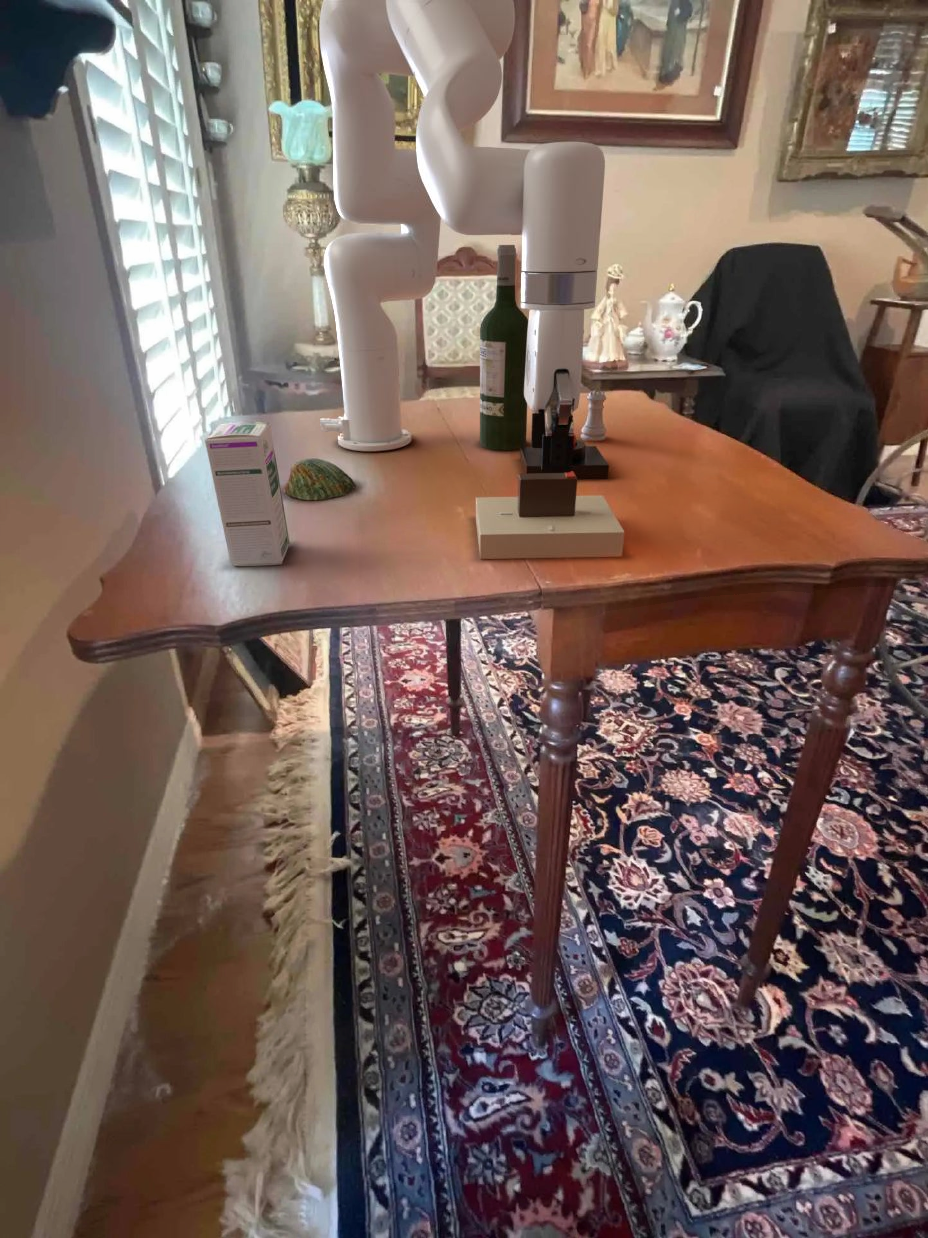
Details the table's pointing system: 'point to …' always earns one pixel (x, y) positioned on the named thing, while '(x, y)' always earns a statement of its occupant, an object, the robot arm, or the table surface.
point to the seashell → (317, 480)
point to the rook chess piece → (594, 418)
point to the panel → (547, 530)
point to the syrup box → (248, 493)
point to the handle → (547, 494)
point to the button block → (583, 464)
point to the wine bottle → (503, 364)
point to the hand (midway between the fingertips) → (550, 459)
